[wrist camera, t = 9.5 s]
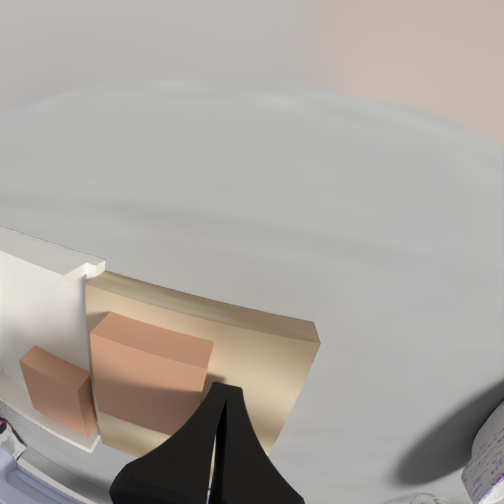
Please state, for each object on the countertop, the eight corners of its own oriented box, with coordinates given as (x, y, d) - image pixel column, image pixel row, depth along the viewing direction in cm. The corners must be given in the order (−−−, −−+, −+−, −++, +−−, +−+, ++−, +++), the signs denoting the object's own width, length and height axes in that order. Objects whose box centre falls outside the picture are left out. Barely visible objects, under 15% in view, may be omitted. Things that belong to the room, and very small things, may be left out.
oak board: (253, 463, 17) (252, 483, 16) (111, 425, 17) (102, 443, 15) (313, 322, 14) (320, 343, 12) (104, 270, 14) (85, 283, 12)
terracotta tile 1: (98, 419, 16) (87, 437, 15) (46, 393, 16) (34, 408, 14) (91, 372, 15) (77, 391, 13) (34, 345, 15) (18, 359, 13)
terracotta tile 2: (199, 414, 14) (192, 441, 12) (112, 387, 13) (98, 410, 11) (214, 341, 12) (206, 369, 10) (110, 311, 12) (90, 332, 10)
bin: (112, 430, 17) (98, 456, 14) (4, 372, 17) (-13, 389, 14) (105, 259, 14) (74, 279, 11) (-20, 218, 13) (-49, 227, 10)
